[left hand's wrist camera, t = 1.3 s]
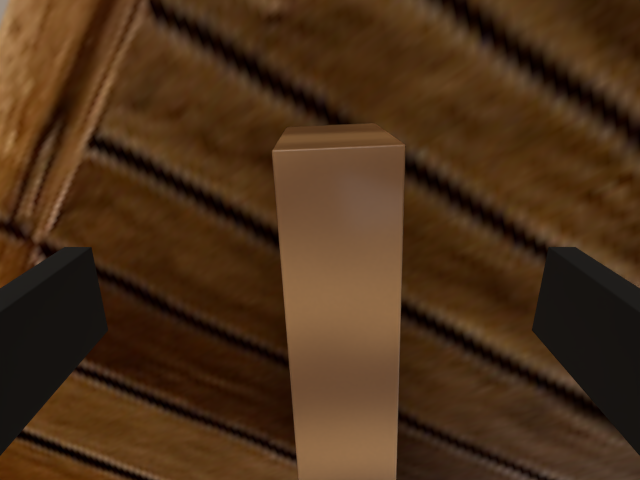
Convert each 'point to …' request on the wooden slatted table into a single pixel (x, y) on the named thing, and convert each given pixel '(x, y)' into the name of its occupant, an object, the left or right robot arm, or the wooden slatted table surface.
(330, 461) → the bar
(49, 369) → the left robot arm
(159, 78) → the wooden slatted table surface
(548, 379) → the wooden slatted table surface
